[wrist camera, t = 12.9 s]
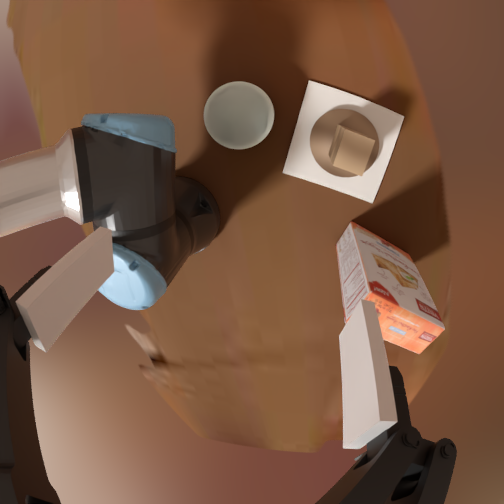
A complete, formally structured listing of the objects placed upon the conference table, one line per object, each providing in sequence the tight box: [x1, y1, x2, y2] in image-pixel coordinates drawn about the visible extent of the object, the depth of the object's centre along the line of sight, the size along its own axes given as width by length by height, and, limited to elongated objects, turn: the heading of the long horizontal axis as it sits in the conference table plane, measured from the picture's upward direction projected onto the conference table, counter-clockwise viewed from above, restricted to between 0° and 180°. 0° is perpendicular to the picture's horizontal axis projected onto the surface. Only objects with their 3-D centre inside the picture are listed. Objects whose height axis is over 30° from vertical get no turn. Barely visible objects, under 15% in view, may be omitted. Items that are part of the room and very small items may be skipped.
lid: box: [310, 109, 379, 177], centre depth 36 cm, size 11×11×10 cm
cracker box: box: [336, 221, 445, 354], centre depth 39 cm, size 14×6×21 cm, turn 67°
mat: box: [283, 80, 404, 203], centre depth 40 cm, size 16×16×1 cm
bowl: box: [204, 81, 275, 149], centre depth 38 cm, size 10×10×6 cm
